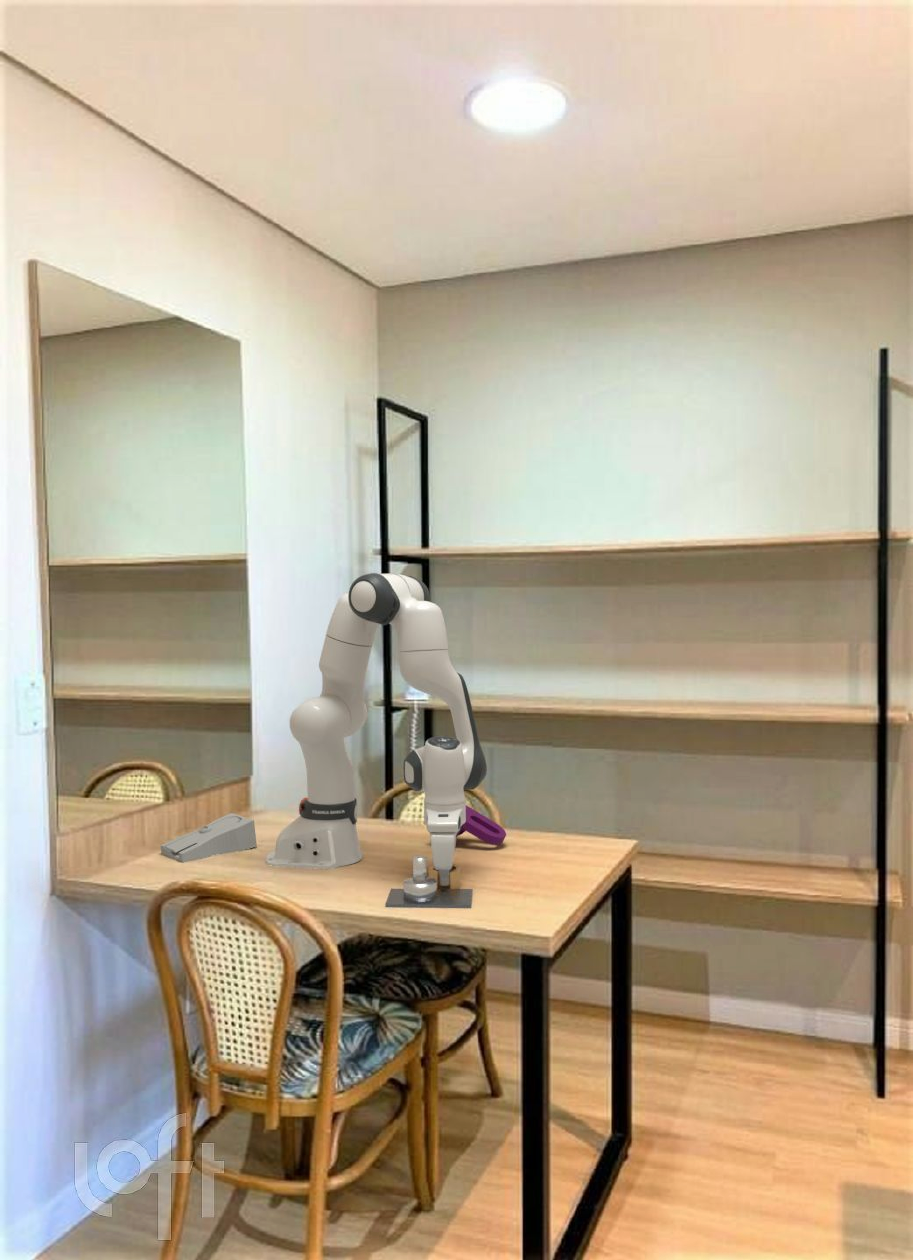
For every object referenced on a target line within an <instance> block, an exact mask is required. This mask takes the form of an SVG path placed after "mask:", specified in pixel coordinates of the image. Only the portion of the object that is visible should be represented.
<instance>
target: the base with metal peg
mask: <svg viewBox="0 0 913 1260" xmlns="http://www.w3.org/2000/svg"><path fill="white" fill-rule="evenodd" d="M427 860H428V859H427V856H425V855H414V856H412V877H409V878H406V879H404V880H403V881H402V888H390V891H389V893H388V896H387V898H386V902H385V904H384V905H385V906H384V907H385V908H408V909H409V908H411V909H412V908H414V909H415V908H417V909H418V908H419V909H420V908H423V909H424V908H425V909H472V903H473V895H474V893H473V892H474V890H473V888H460V889H437V881H436V880H435V879H433V878H430V877H429V876H428V873H427V872H428V870H427V865H428V863H427Z"/></svg>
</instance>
